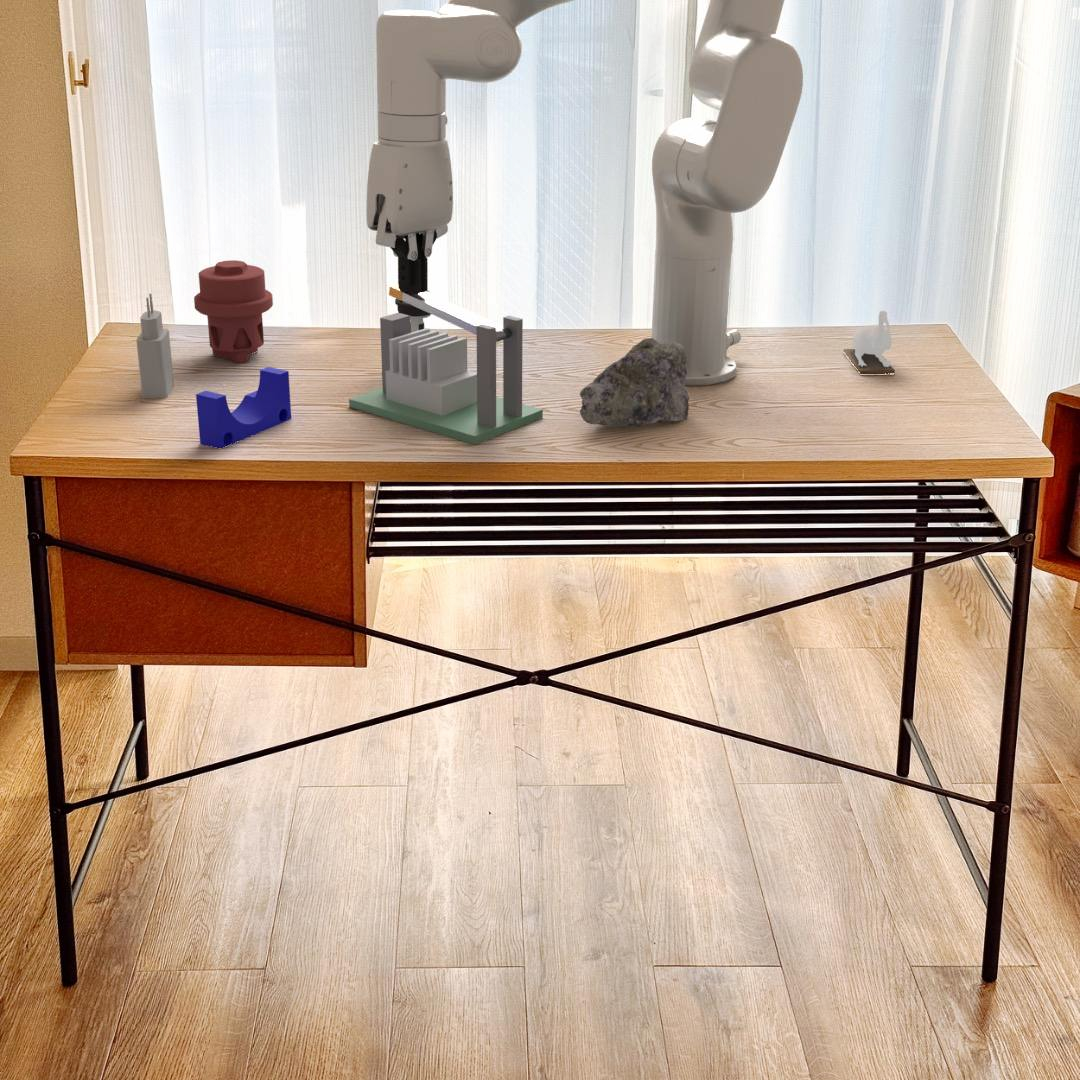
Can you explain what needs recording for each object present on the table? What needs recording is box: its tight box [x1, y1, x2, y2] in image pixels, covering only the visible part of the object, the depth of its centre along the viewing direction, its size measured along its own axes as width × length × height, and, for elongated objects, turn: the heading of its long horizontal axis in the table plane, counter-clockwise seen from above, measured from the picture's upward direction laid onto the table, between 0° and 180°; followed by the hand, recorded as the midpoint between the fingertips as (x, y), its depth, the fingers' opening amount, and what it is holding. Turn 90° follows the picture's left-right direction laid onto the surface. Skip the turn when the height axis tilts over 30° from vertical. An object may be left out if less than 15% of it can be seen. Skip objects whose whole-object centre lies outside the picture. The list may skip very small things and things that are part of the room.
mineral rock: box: [579, 337, 690, 428], centre depth 169 cm, size 13×11×10 cm
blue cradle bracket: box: [195, 366, 292, 449], centre depth 166 cm, size 12×4×6 cm, turn 149°
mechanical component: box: [193, 259, 274, 364], centre depth 191 cm, size 12×10×10 cm
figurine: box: [842, 310, 896, 375], centre depth 189 cm, size 14×4×9 cm, turn 3°
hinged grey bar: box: [388, 283, 512, 343], centre depth 168 cm, size 3×17×1 cm, turn 51°
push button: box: [394, 290, 432, 333], centre depth 186 cm, size 7×5×10 cm
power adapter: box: [135, 292, 175, 399], centre depth 177 cm, size 3×5×12 cm, turn 3°
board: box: [348, 312, 544, 445], centre depth 171 cm, size 12×20×12 cm, turn 51°
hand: (412, 290), depth 170 cm, fingers closed
